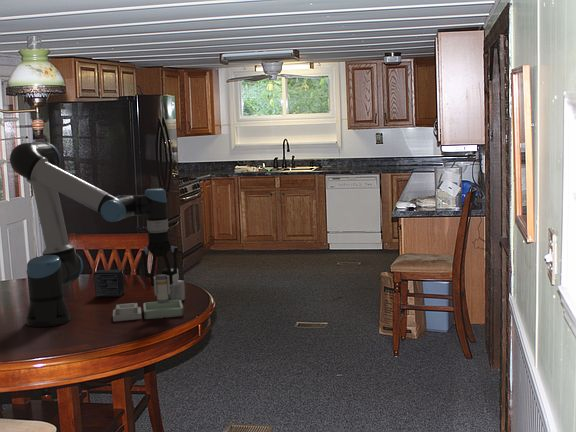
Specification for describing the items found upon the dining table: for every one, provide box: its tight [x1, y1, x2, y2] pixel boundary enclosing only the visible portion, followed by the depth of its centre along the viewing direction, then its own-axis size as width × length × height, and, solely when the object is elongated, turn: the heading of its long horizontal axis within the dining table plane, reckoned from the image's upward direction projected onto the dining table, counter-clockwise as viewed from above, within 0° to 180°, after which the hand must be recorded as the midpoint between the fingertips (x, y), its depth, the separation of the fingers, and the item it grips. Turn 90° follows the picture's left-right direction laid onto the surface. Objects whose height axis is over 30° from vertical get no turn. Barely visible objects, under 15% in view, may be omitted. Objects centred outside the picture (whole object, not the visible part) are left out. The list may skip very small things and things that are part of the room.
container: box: [161, 267, 186, 302], centre depth 303 cm, size 8×8×13 cm
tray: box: [142, 300, 185, 320], centre depth 285 cm, size 14×14×3 cm
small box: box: [93, 269, 125, 299], centre depth 317 cm, size 11×6×10 cm, turn 84°
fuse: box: [154, 273, 169, 304], centre depth 284 cm, size 4×4×10 cm
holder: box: [112, 302, 143, 322], centre depth 282 cm, size 10×10×4 cm
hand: (162, 293), depth 285 cm, fingers closed on fuse, 4 cm apart
